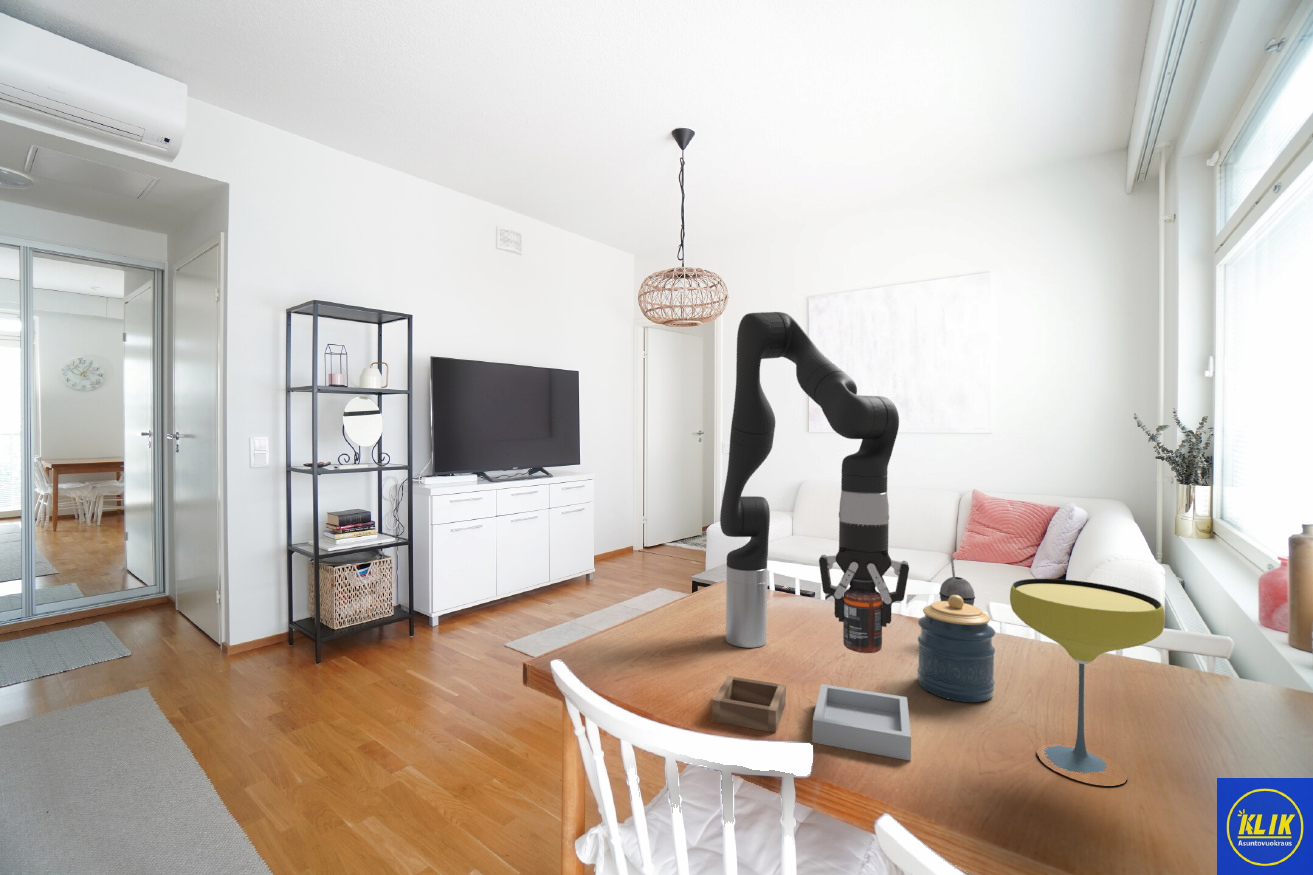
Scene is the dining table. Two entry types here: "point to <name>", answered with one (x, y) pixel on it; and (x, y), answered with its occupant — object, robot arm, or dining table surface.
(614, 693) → the dining table surface
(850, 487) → the robot arm
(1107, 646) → the cocktail glass
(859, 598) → the supplement bottle
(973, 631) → the canister
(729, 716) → the socket block
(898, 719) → the tray
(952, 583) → the beverage cup
